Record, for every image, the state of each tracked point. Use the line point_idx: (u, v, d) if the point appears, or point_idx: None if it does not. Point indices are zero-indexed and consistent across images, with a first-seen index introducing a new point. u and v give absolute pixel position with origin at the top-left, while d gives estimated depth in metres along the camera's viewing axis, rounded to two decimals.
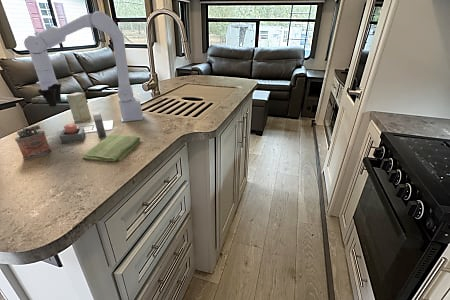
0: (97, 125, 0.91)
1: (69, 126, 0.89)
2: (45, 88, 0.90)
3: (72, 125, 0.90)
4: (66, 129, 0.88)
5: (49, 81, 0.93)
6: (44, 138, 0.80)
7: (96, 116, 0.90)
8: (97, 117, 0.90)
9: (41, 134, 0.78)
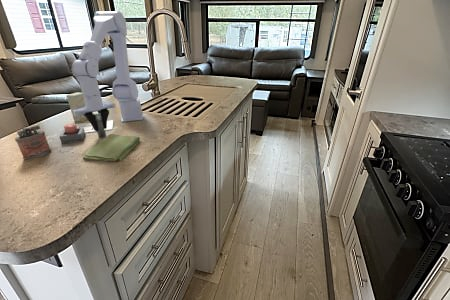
0: (97, 125, 0.91)
1: (69, 126, 0.89)
2: (75, 114, 0.85)
3: (72, 125, 0.90)
4: (66, 129, 0.88)
5: (88, 107, 0.87)
6: (44, 138, 0.80)
7: (96, 116, 0.90)
8: (97, 117, 0.90)
9: (41, 134, 0.78)
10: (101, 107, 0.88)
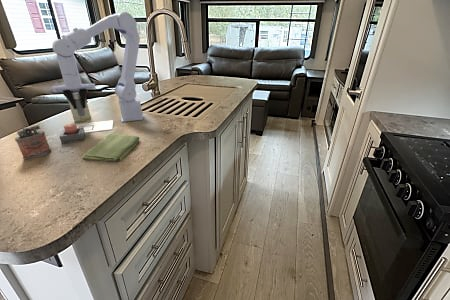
0: (75, 103, 0.95)
1: (69, 126, 0.89)
2: None
3: (72, 125, 0.90)
4: (66, 129, 0.88)
5: (65, 85, 0.91)
6: (44, 138, 0.80)
7: (73, 95, 0.94)
8: (74, 95, 0.94)
9: (41, 134, 0.78)
10: (76, 86, 0.91)
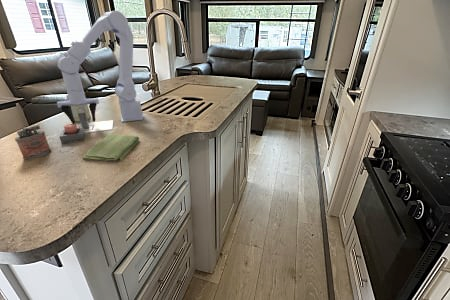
0: (79, 117, 0.98)
1: (69, 126, 0.89)
2: None
3: (72, 125, 0.90)
4: (66, 129, 0.88)
5: (69, 100, 0.94)
6: (44, 138, 0.80)
7: (77, 109, 0.96)
8: (78, 110, 0.96)
9: (41, 134, 0.78)
10: (80, 102, 0.94)
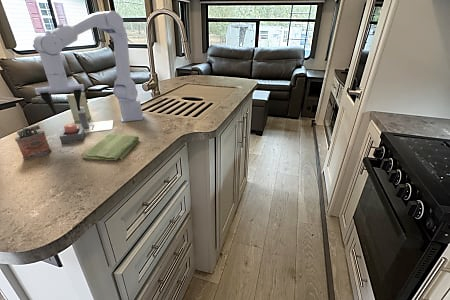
0: (79, 117, 0.98)
1: (69, 126, 0.89)
2: None
3: (72, 125, 0.90)
4: (66, 129, 0.88)
5: (50, 86, 0.82)
6: (44, 138, 0.80)
7: (77, 109, 0.96)
8: None
9: (41, 134, 0.78)
10: (63, 88, 0.83)
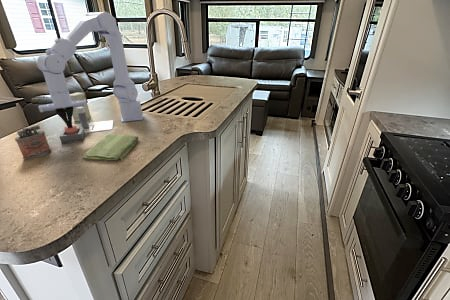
0: (79, 117, 0.98)
1: None
2: None
3: None
4: (66, 130, 0.89)
5: (53, 104, 0.84)
6: (44, 138, 0.80)
7: (77, 109, 0.96)
8: (78, 110, 0.96)
9: (41, 134, 0.78)
10: (66, 105, 0.84)
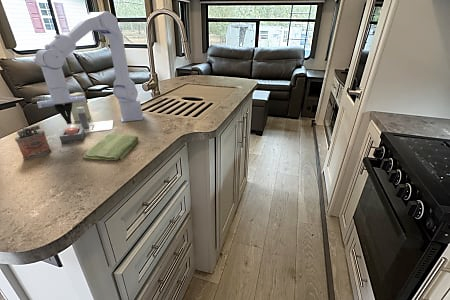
0: (79, 117, 0.98)
1: (71, 129, 0.90)
2: None
3: (73, 128, 0.91)
4: (67, 133, 0.89)
5: (52, 99, 0.83)
6: (44, 138, 0.80)
7: (77, 109, 0.96)
8: (78, 110, 0.96)
9: (41, 134, 0.78)
10: (65, 100, 0.84)
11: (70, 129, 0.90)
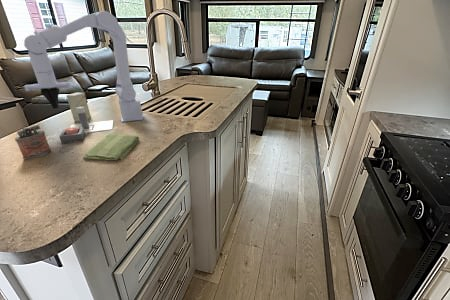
0: (79, 117, 0.98)
1: (71, 129, 0.90)
2: None
3: (73, 128, 0.91)
4: (67, 133, 0.89)
5: (38, 84, 0.87)
6: (44, 138, 0.80)
7: (77, 109, 0.96)
8: (78, 110, 0.96)
9: (41, 134, 0.78)
10: (50, 85, 0.88)
11: (70, 129, 0.90)
